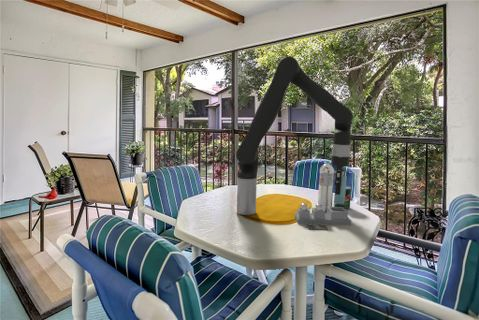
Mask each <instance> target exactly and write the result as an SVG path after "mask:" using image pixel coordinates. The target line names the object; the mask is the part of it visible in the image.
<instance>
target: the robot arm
mask: <svg viewBox="0 0 479 320" xmlns="http://www.w3.org/2000/svg"><path fill="white" fill-rule="evenodd" d="M290 84H292V85H294V86H296V88H298V89H300V90H301V91H302V93H304V94H305V95H307V96H308V98H309V99H310V100H312V102H314V104H316V105H317V106H318V107H319V108H320V109H321V110H323V111H324V112H326V113H327V114H328V115H329V116H330V117H331V118H332V119H333V120H334V133H333V138H332V140H333V142H332V148H331V158H330V159H331V160H330V165H331V166H332V167H333V166H334V167H336V168H334V177H333V181H334V195H335V194H336V195H340V190H341V181H343V175H344V174H345V169H344V168H346V167H350V161H351V160H350V159H351V141H352V139H351V138H352V133H351V130H352V129H351V128H352V121H353V118H354V115H353V112H352V110H351V109H350V108H348V107H347V106H346V105H345V104H343V103H342V102H340V101H339V100H338V99H337V98H336V97H335V96H334V95H332V93H330V92H329V91H328V90H327V89H326V88H324V87H323V86H322V85H320V84H319V83H317V82H316V81H315V80H313V79H312V78H311V77H310V76H308V75H307V74H306V73H305V71H304V70H303V69H302V68H301V66H300V64H299V62H298V61H297V59H296V58H295V57H293V56H291V55H290V56H289V55H288V56H285V57H282V58H281V59H280V60H279V62H278V63H277V66H276V69H275V72H274V75H273V77H272V79H271V82H270V84H269V86H268V88H267V90H266V92H265V93H264V95H263V97H262V99H261V101H260V102H259V105H258V106H257V109H256V111H255V113H254V116H253V118H252V121H251V123H250V126H249V129H248V131H247V132H246V135H245V137H244V139H243V140H242V141H241V143H240V144H239V147H238V148H237V149H236V153H235V154H236V160H237V161H238V163H239V164H238V169H237V177H236V180H237V181H236V182H237V183H236V186H237V189H236V214H237V215H238V214H239V215H243V216H250V215H252V216H253V215H255V214H256V213H257V190H258V189H257V187H258V186H257V184H258V183H257V182H258V181H257V180H258V178H257V177H258V176H257V175H258V169H259V168H258V167H259V150H258V149H259V148H260V147H259V146H260V145H261V142H262V141H263V138H265V135H266V134H267V133H268V132H269V130H270V129H271V127H272V126H273V123H274V122H275V120H276V119H277V117H278V114H279V112H280V109H281V107H282V103H283V101H284V96H285V93H286V91H287V89H288V88H289V85H290ZM341 177H342V178H341ZM337 181H340V183H337Z"/></svg>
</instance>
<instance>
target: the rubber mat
mask: <svg viewBox="0 0 479 320" xmlns="http://www.w3.org/2000/svg"><path fill="white" fill-rule="evenodd" d="M306 227H307V229H308V230H309V231H310V230H313V231H315V230H316V231H329V228H328V226H327V224H306Z"/></svg>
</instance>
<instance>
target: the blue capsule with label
mask: <svg viewBox="0 0 479 320" xmlns="http://www.w3.org/2000/svg"><path fill="white" fill-rule="evenodd" d="M347 177H348V176H347V175H345V173H344V175H343V181H341V190H340V195H336V194H335V193H334V194H333V195H334V197H333V198H334V199H333V204H334V203H337V204H344V201H345V191H346V186H347V179H348V178H347ZM341 178H342V177H341ZM337 183H340V181H337Z"/></svg>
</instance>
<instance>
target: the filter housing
mask: <svg viewBox="0 0 479 320" xmlns="http://www.w3.org/2000/svg"><path fill="white" fill-rule="evenodd" d="M348 213H349V212H348V210H345V209H344V208H343V207H334V206H332V207H327V212H325V211H324V209H323V208H322V211H315V207H312V208H311V210H310V209H309V207H307V210H301V207H297V212H294V218H296V219H295V221H296V223H297V224H298V225H303V224H304V225H307V224H315V225H337V226H340V225H341V226H351V225H352V219H351V218H349V215H348Z"/></svg>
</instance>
